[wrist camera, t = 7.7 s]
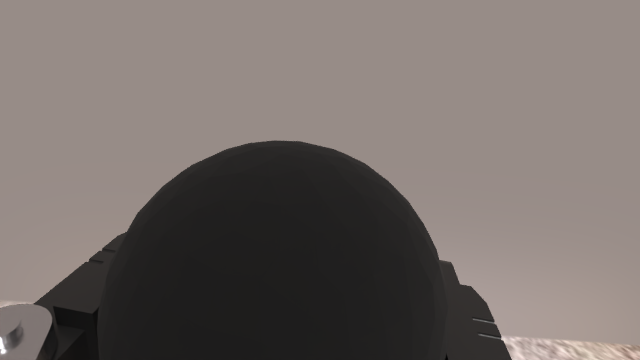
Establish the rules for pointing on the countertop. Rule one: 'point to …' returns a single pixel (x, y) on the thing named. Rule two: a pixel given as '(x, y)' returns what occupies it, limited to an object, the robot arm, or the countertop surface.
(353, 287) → the light bulb
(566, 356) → the countertop surface
